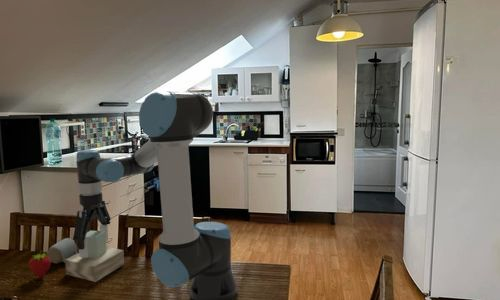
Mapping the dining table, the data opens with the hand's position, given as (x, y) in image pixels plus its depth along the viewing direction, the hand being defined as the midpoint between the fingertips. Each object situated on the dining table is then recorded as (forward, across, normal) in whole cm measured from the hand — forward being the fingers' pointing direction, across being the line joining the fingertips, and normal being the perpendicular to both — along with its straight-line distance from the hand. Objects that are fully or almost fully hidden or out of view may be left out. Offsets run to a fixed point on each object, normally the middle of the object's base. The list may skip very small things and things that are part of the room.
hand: (94, 248), depth 126 cm
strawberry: (+8, +8, -16) cm, 20 cm away
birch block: (+8, 0, 0) cm, 8 cm away
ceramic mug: (+8, -5, -16) cm, 19 cm away
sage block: (+2, 0, 0) cm, 2 cm away
